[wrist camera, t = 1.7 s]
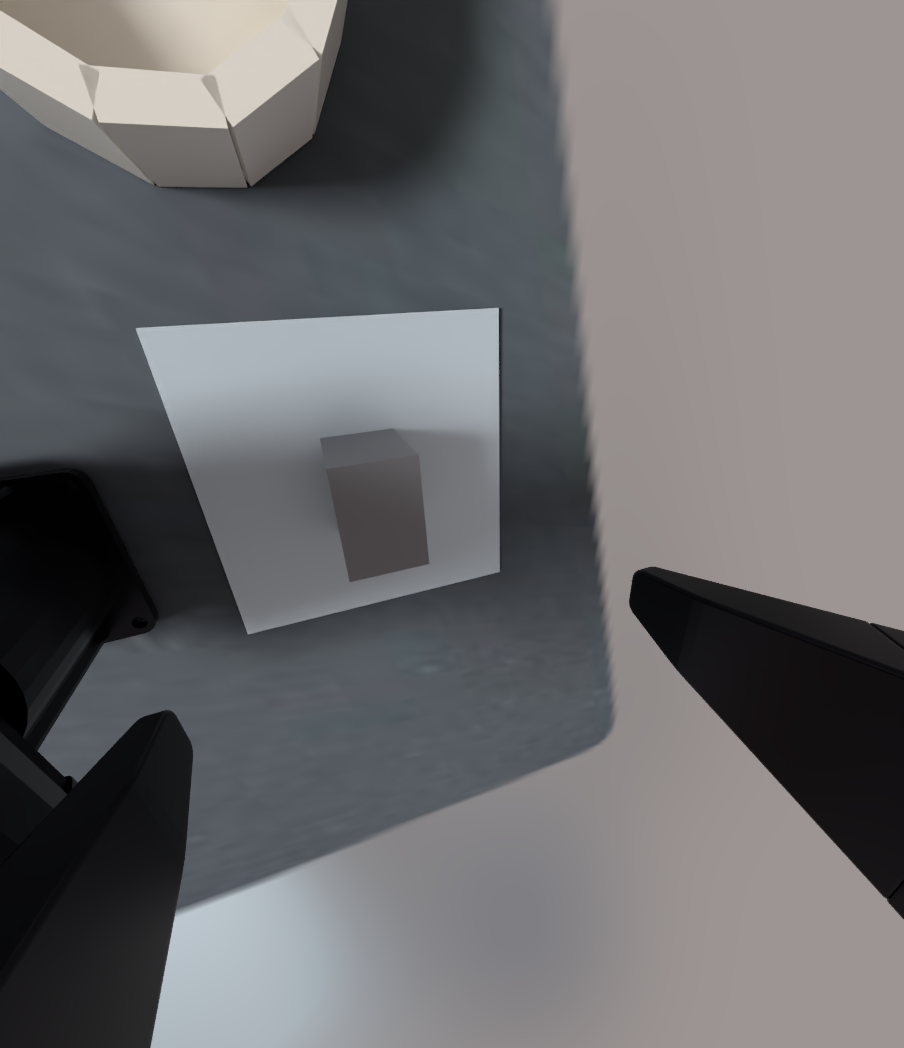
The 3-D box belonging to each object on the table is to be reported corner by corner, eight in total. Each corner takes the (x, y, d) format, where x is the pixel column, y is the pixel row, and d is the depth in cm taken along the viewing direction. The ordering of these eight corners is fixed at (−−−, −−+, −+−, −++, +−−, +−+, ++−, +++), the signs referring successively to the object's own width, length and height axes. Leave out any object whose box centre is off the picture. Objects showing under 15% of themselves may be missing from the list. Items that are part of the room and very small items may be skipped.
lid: (493, 564, 21) (539, 619, 17) (249, 622, 18) (236, 707, 14) (489, 309, 16) (556, 300, 12) (144, 328, 13) (72, 326, 9)
